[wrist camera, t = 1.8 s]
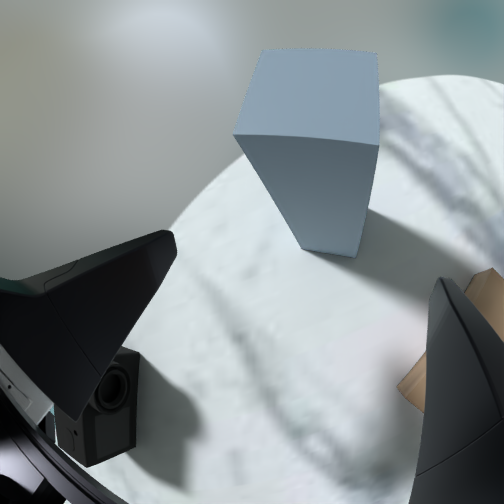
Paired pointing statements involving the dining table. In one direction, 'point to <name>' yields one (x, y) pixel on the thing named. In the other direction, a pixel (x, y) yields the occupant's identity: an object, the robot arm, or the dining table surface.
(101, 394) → the digital camera
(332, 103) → the slate pillar
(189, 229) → the dining table surface
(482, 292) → the walnut block
